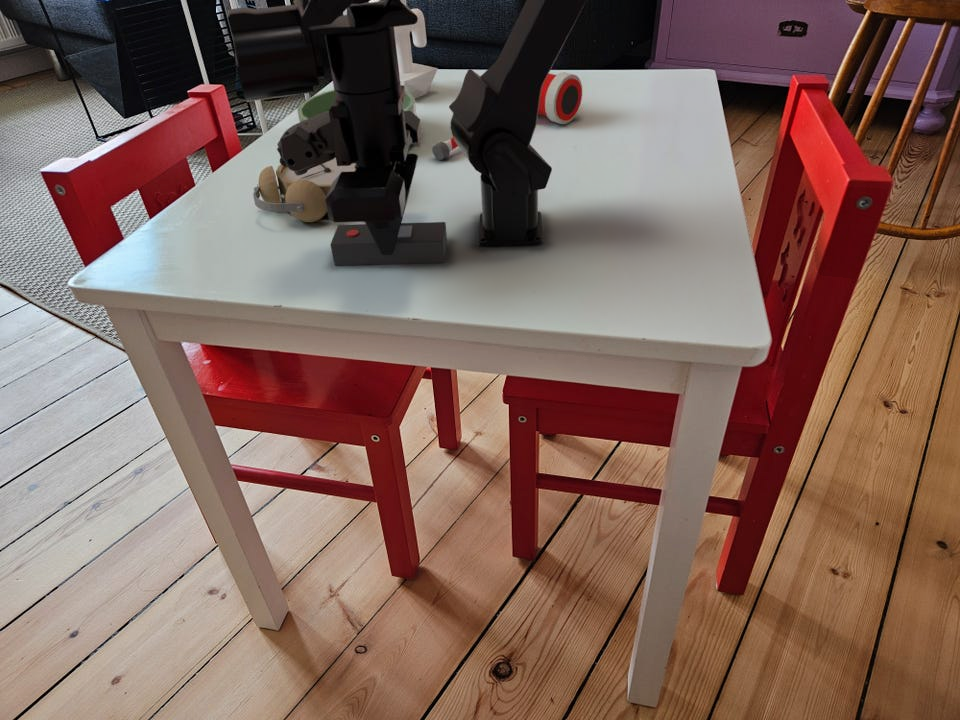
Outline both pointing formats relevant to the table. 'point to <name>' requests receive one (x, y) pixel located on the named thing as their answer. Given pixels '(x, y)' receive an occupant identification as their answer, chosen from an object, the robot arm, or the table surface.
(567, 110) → the toy hammer
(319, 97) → the bowl
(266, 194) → the alarm clock
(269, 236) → the table surface
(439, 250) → the remote
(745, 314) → the table surface
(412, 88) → the figurine
